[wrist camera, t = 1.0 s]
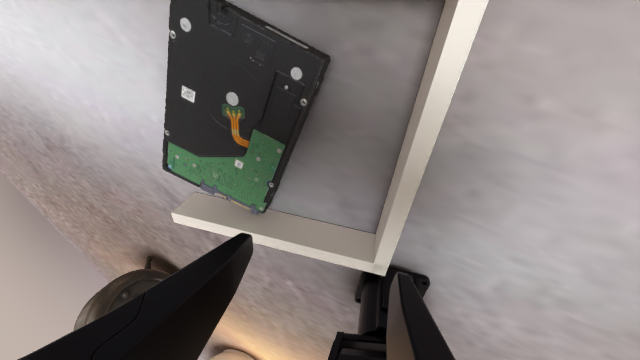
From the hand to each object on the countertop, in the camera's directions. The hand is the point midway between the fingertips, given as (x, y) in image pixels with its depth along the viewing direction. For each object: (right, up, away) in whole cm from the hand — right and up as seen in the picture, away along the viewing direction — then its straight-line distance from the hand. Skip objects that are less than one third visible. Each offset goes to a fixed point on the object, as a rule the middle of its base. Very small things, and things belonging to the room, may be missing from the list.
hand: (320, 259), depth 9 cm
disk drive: (-6, +8, +12) cm, 16 cm away
